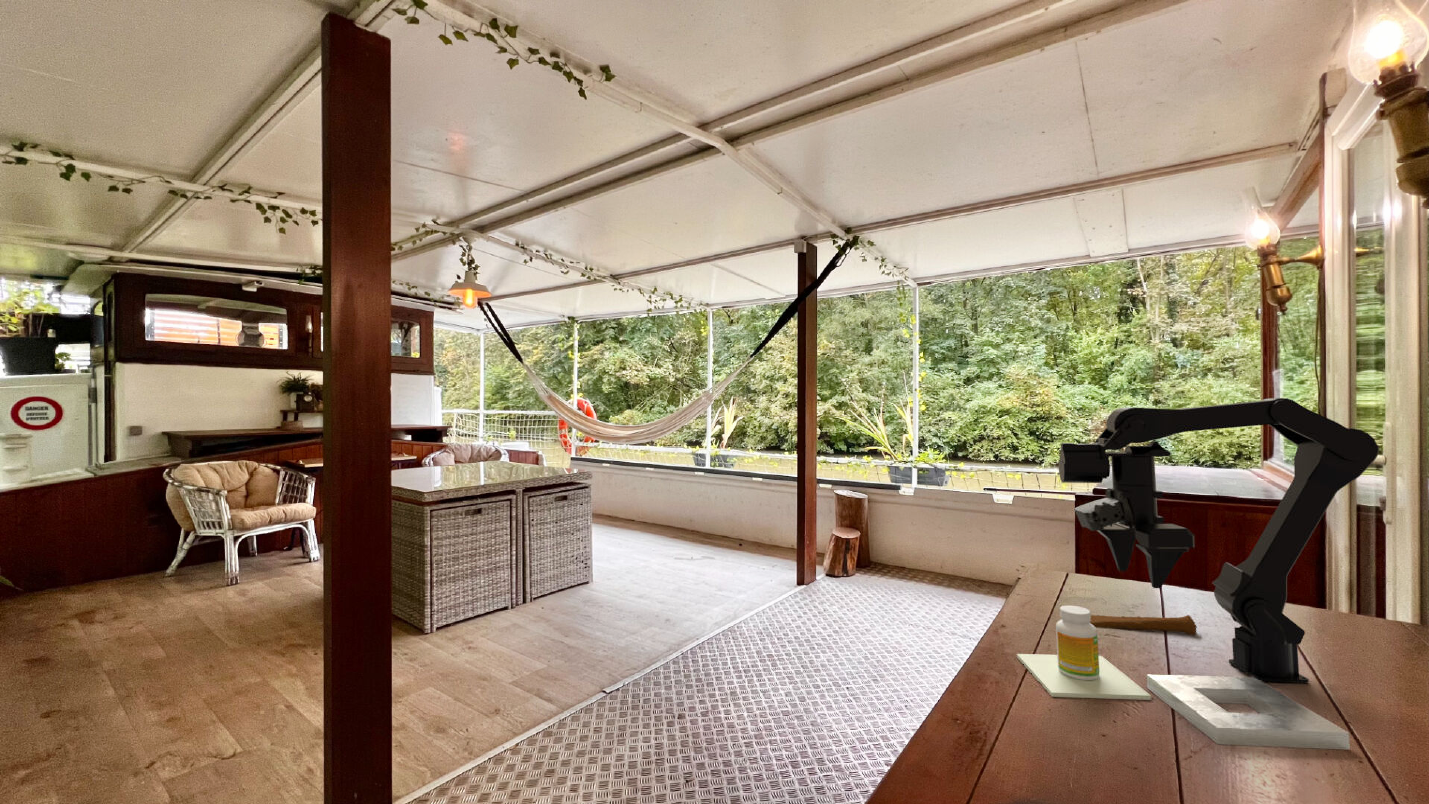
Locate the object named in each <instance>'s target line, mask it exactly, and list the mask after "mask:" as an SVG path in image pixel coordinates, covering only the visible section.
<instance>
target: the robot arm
mask: <svg viewBox="0 0 1429 804" xmlns="http://www.w3.org/2000/svg"><path fill="white" fill-rule="evenodd" d="M1265 425H1266V426H1269V427H1271V428H1272V429H1274V430H1275V431H1276V432H1277V433H1278V434H1279V435H1281V436H1282V437H1283V438H1284V439H1286V440H1287V441H1289V442H1291V443H1293V444H1294V445H1295V446H1297V448H1296V451H1295V454H1294V459H1293V461H1294V464H1293V465H1294V473H1293V474H1294V476H1293V478H1292V479H1293V480H1292V482H1291V483H1290V485H1289V486H1288V488H1287V490H1286V491H1285V493H1284V495H1283V497H1282V498H1281V500H1280V502H1279V504H1278V506H1277V507H1276V509H1275V510H1274V513H1273V514H1272V516H1271V518H1270V519H1269V520H1268V523H1267V524H1266V526H1265V528H1264V530H1263V531H1262V533H1261V535H1260V536H1259V539H1258V540H1257V542H1256V544H1255V545H1254V547H1253V549H1252V550H1251V552H1250V554H1249V555H1248V557H1247V558H1246V559H1245V560H1243V561H1242V562H1241V563H1239V564H1237V565H1236V566H1234V565H1232V564H1231V563H1229V562H1224V563H1223V565H1222V568H1221V571H1220V574H1219V576H1218V577H1217V578H1216V579H1214V580H1213V581H1211V582H1212V583H1211V584H1213V585H1214V586H1215V588H1214V591H1213V593H1214V594H1213V596H1214V598H1215V600H1216V602H1217V604H1218V605H1219V606H1220V607H1221V608H1222V609H1223V610H1225V611H1226V612H1227V613H1228V614H1229V615H1230V616H1231V618H1232V620H1233V621H1234V622H1236V623H1237V624H1239V627H1238V626H1237V627H1236V626H1235V627H1234V637H1233V638H1232V639H1231V641H1232V659H1228V664H1230V665H1232V666H1234V667H1235V668H1237V669H1238V670H1241V671H1242V672H1244V673H1246V674H1247V675H1249V676H1250V677H1254V678H1256V679H1258V680H1259V681H1261V682H1265V683H1266V682H1269V683H1270V682H1271V683H1272V682H1274V683H1303V684H1304V683H1308V684H1309V682H1310V681H1309V678H1308V677H1306V676H1304V675H1302V674H1301V673H1300V667H1299V652H1298V651H1299V650H1298V645H1300V644H1301V643H1302V641H1303V639H1304V637H1305V634H1306V630H1304V629H1303V628H1301V627H1300V626H1299V625H1298V624H1296V622H1294V621H1293V620H1292V619H1290V618H1289V617H1288V616H1286V615H1285V614H1284V613H1283V612H1284V609H1285V606H1286V602H1287V599H1288V575H1289V574H1290V572H1291V570H1292V568H1293V566H1294V565H1295V563H1296V562H1297V560H1298V558H1299V557H1300V555H1301V553H1302V551H1303V550H1304V548H1305V547H1306V546H1307V543H1308V542H1309V539H1310V538H1311V536H1312V535H1313V533H1314V532H1315V530H1316V528H1317V526H1318V524H1319V523H1320V521H1321V520H1322V519H1323V516H1324V514H1325V513H1326V511H1327V509H1328V508H1329V506H1330V504H1331V502H1332V501H1333V500H1334V497H1335V496H1336V494H1337V493H1338V492H1339V491H1340V490H1341V489H1343V488H1344V487H1346V486H1348V485H1349V484H1351V483H1352V482H1354V481H1355V480H1357V479H1358V478H1359V477H1361V476H1362V474H1364V472H1365V471H1366V470H1367V469H1368V468H1369V467H1370V466H1371V465H1372V464H1373V462H1374V461H1375V460H1376V459H1377V457H1378V456H1379V452H1380V446H1379V444H1377V442H1376V440H1375V438H1374V437H1372V435H1371V434H1369V433H1368V432H1366V431H1363V430H1362V429H1358V428H1353V427H1352V428H1350V427H1349V428H1348V427H1346V426H1344V425H1343V424H1340V423H1339V422H1337V421H1334V420H1332V419H1331V418H1328V417H1326V416H1324V415H1322V414H1319V413H1317V412H1315V411H1313V410H1310V409H1308V408H1306V407H1305V406H1303V405H1301V404H1300V403H1298V402H1296V401H1295V400H1293V399H1291V398H1285V397H1270V398H1264V399H1261V400H1255V401H1247V402H1246V401H1245V402H1235V403H1224V404H1215V405H1205V406H1203V405H1202V406H1195V407H1185V408H1184V407H1183V408H1176V409H1175V408H1156V407H1151V408H1150V407H1127V406H1126V407H1120V408H1116V409H1114V410H1113V411H1112V412H1111V413H1110V414H1109V415H1108V416H1107V418H1106V427H1105V429H1104V430H1103V431H1102V432H1101V434H1100V435H1098V437H1097V439H1096V440H1095V441H1093V443H1073V442H1061V443H1060V451H1059V459H1058V461H1057V462H1058V464H1057V465H1058V473H1059V480H1060V482H1061V483H1062V484H1063V483H1065V484H1071V483H1072V484H1102V482H1103V481H1104V479H1107V478H1109V477H1110V475H1111V474H1112V475H1111V476H1112V477H1111V478H1112V479H1111V480H1112V487H1107V488H1106V489H1107V490H1105V497H1104V498H1101V499H1097V500H1093V501H1090V502H1087V503H1085V504H1081V505H1079V506H1077V507H1075V508H1074V512H1075V514H1076V517H1077V519H1078V522H1079V523H1080V526H1081V527H1082V528H1086V529H1089V530H1090V531H1092V532H1098V533H1099V534H1100V535H1101V536H1103V537H1104V539H1106V542H1107V544H1108V546H1109V549H1110V551H1111V554H1112V557H1113V560H1114V561H1115V565H1116V567H1117V570H1118V571H1119V572H1127V571H1128V568H1129V565H1130V562H1131V557H1132V554H1133V551H1134V550H1133V549H1134V545H1135V546H1136V547H1137V548H1138V549H1139V550H1140V551H1142V552H1143V553H1144V555H1145V557H1146V558H1145V559H1146V563H1147V564H1146V565H1147V570H1148V575H1149V580H1150V583H1151V587H1152V588H1153V589H1161V588H1162V587H1163V585H1164V584H1165V582H1166V581H1167V578H1168V577H1169V575H1170V574H1171V571H1172V570H1173V569H1174V567H1175V565H1176V563H1178V561H1179V559H1180V558H1181V557H1182V555H1184V553H1186V552H1189V549H1193V548H1195V546H1196V545H1195V534H1194V533H1193V532H1192V531H1191V530H1190V529H1188V527H1187V528H1186V527H1183V526H1180V525H1177V524H1174V523H1165V517H1163V516H1160V515H1158V502H1157V499H1163V498H1164V493H1163V491H1162V490H1157V483H1156V481H1157V480H1156V466H1155V465H1156V463H1155V457H1170V456H1171V454H1172V453H1171V451H1169V450H1167V449H1166V448H1164V447H1163V446H1162V445H1161V444H1160V442H1158V441H1156V440H1160V439H1164V438H1167V437H1169V436H1170V437H1171V436H1174V435H1177V434H1181V433H1185V432H1197V431H1198V432H1199V431H1208V430H1209V431H1210V430H1219V429H1232V428H1242V427H1243V428H1244V427H1256V426H1265ZM1147 442H1149V443H1148V444H1147V445H1130V444H1142V443H1143V444H1144V443H1147ZM1123 448H1124V451H1119V450H1121V449H1123ZM1106 450H1107V451H1106ZM1110 461H1111V464H1110ZM1136 541H1137V542H1138V543H1135V542H1136Z"/></svg>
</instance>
